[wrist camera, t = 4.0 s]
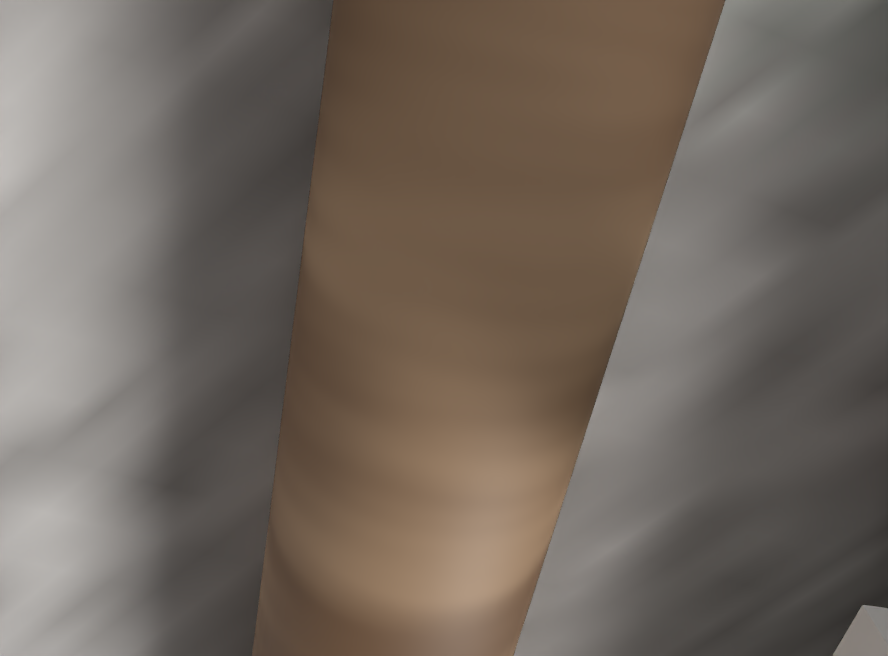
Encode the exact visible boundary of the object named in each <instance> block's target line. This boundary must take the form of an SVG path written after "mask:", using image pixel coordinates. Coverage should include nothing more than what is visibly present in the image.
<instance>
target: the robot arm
mask: <svg viewBox="0 0 888 656" xmlns="http://www.w3.org/2000/svg"><path fill="white" fill-rule="evenodd" d="M832 656H888V608H883V607H876V606H868V605H862V606H861V608H860V610H859V611H858V613H857V615H856V617H855V618H854V620H853V622H852V623H851V625H850V627H849V628H848V630H847V632H846V633H845V635H844V637H843V638H842V640H841V642H840V644H839V645H838V647H837V649H836V650H835V652H834V654H833V655H832Z"/></svg>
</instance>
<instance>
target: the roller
mask: <svg viewBox="0 0 888 656" xmlns="http://www.w3.org/2000/svg"><path fill="white" fill-rule="evenodd" d="M724 3H725V0H333V8H332V16H331V24H330V32H329V40H328V48H327V56H326V64H325V72H324V81H323V89H322V97H321V105H320V113H319V121H318V129H317V137H316V145H315V153H314V161H313V169H312V177H311V185H310V193H309V201H308V209H307V217H306V225H305V233H304V241H303V249H302V257H301V265H300V273H299V282H298V290H297V298H296V306H295V314H294V322H293V330H292V338H291V346H290V354H289V362H288V370H287V378H286V386H285V394H284V402H283V410H282V418H281V426H280V434H279V442H278V450H277V458H276V466H275V475H274V483H273V491H272V499H271V507H270V515H269V523H268V531H267V539H266V547H265V555H264V563H263V571H262V579H261V587H260V595H259V603H258V611H257V619H256V627H255V635H254V643H253V651H252V656H513V655H514V652H515V649H516V646H517V643H518V639H519V636H520V633H521V630H522V627H523V624H524V621H525V618H526V615H527V612H528V609H529V605H530V602H531V599H532V596H533V593H534V590H535V587H536V584H537V581H538V578H539V575H540V571H541V568H542V565H543V562H544V559H545V556H546V553H547V550H548V547H549V544H550V541H551V538H552V534H553V531H554V528H555V525H556V522H557V519H558V516H559V513H560V510H561V507H562V504H563V500H564V497H565V494H566V491H567V488H568V485H569V482H570V479H571V476H572V473H573V470H574V466H575V463H576V460H577V457H578V454H579V451H580V448H581V445H582V442H583V439H584V436H585V432H586V429H587V426H588V423H589V420H590V417H591V414H592V411H593V408H594V405H595V402H596V398H597V395H598V392H599V389H600V386H601V383H602V380H603V377H604V374H605V371H606V368H607V364H608V361H609V358H610V355H611V352H612V349H613V346H614V343H615V340H616V337H617V334H618V331H619V327H620V324H621V321H622V318H623V315H624V312H625V309H626V306H627V303H628V300H629V297H630V293H631V290H632V287H633V284H634V281H635V278H636V275H637V272H638V269H639V266H640V263H641V259H642V256H643V253H644V250H645V247H646V244H647V241H648V238H649V235H650V232H651V229H652V225H653V222H654V219H655V216H656V213H657V210H658V207H659V204H660V201H661V198H662V195H663V191H664V188H665V185H666V182H667V179H668V176H669V173H670V170H671V167H672V164H673V161H674V158H675V154H676V151H677V148H678V145H679V142H680V139H681V136H682V133H683V130H684V127H685V124H686V120H687V117H688V114H689V111H690V108H691V105H692V102H693V99H694V96H695V93H696V90H697V86H698V83H699V80H700V77H701V74H702V71H703V68H704V65H705V62H706V59H707V56H708V52H709V49H710V46H711V43H712V40H713V37H714V34H715V31H716V28H717V25H718V22H719V18H720V15H721V12H722V9H723V6H724Z"/></svg>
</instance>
